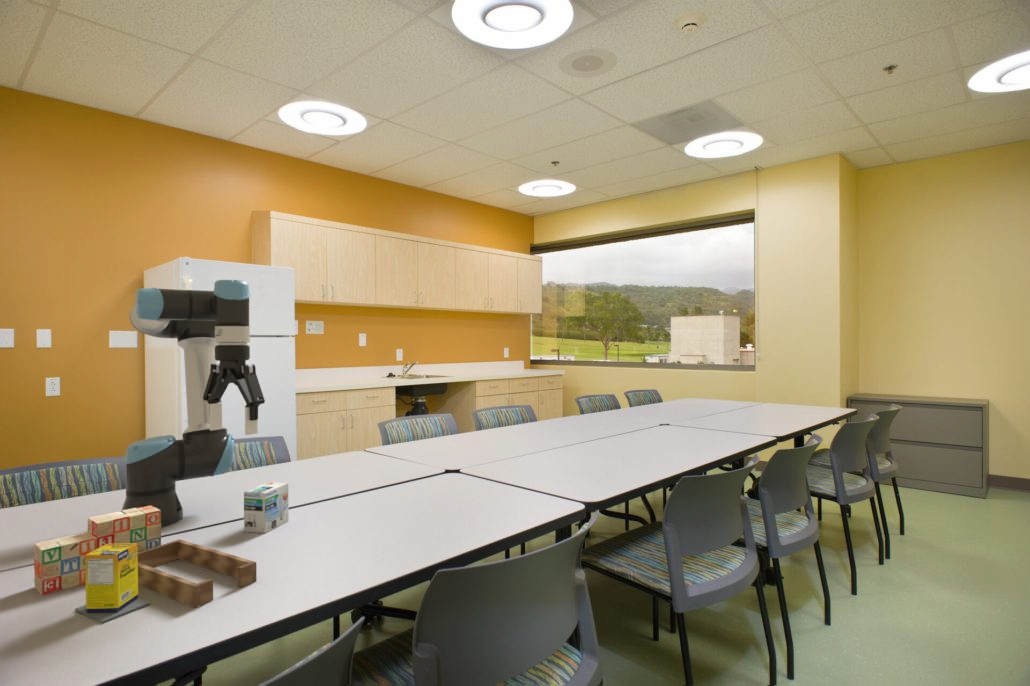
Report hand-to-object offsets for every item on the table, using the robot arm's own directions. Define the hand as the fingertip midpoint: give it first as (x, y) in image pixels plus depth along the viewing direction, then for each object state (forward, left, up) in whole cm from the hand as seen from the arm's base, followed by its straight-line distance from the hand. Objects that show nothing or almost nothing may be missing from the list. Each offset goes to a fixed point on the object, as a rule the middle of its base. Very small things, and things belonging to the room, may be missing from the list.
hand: (233, 432), depth 133 cm
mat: (+6, -29, -29) cm, 41 cm away
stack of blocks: (-13, -22, -29) cm, 39 cm away
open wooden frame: (+6, -15, -29) cm, 33 cm away
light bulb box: (-8, +15, -29) cm, 34 cm away
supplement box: (+6, -29, -28) cm, 41 cm away
